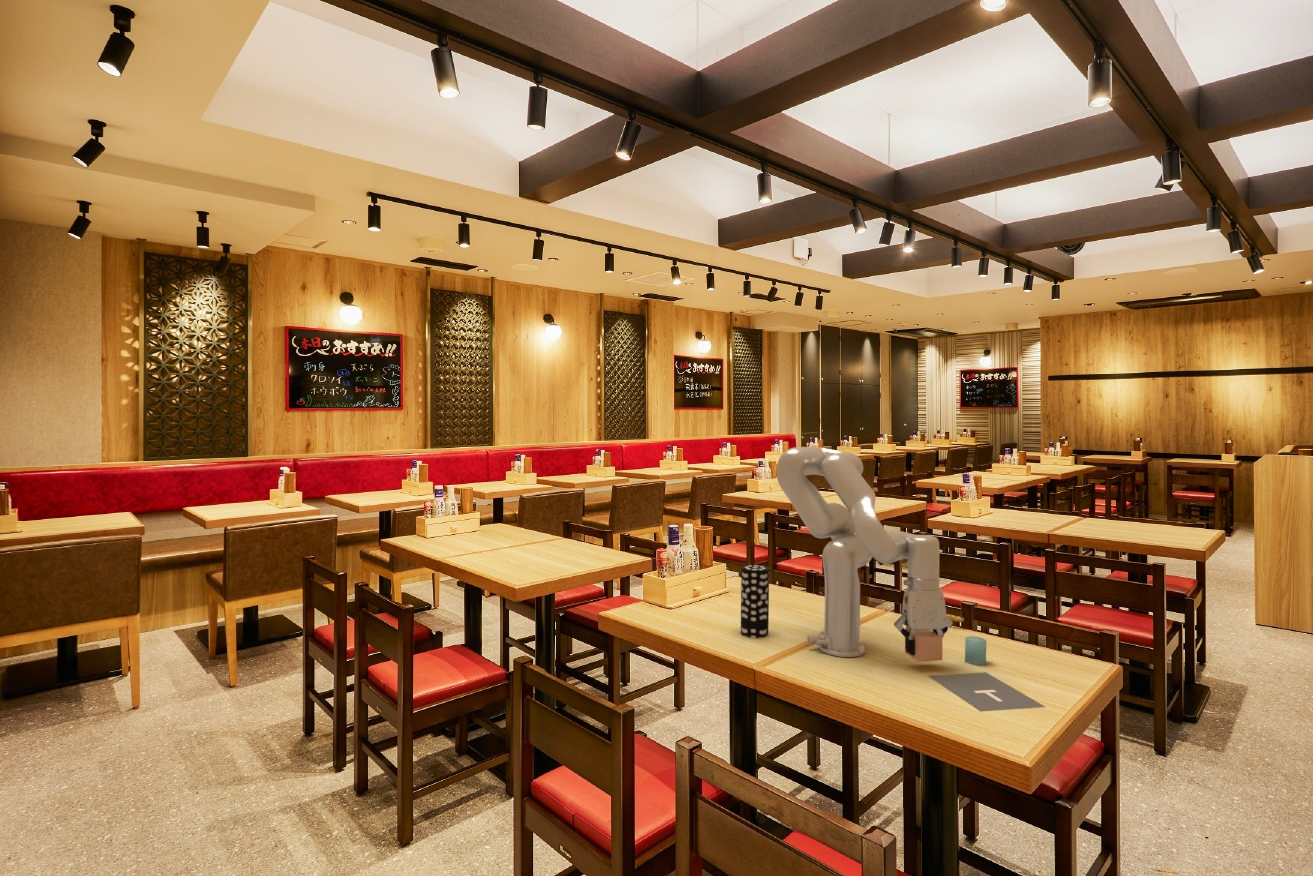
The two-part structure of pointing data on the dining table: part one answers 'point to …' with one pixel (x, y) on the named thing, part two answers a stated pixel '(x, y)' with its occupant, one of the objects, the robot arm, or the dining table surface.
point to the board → (985, 692)
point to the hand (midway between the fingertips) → (923, 652)
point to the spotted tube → (754, 601)
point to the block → (927, 646)
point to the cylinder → (975, 650)
